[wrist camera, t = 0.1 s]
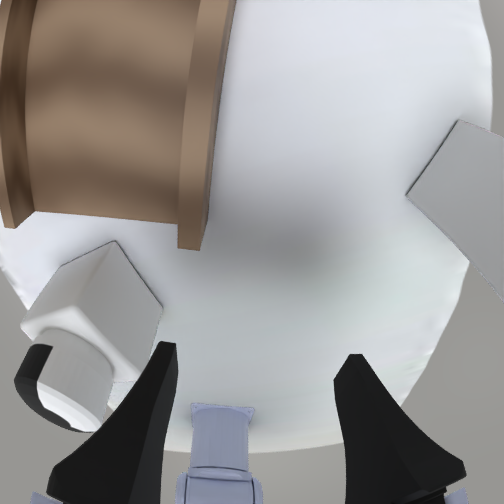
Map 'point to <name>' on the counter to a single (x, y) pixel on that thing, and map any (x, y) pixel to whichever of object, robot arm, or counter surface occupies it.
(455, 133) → the milk carton
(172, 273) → the counter surface
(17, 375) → the medicine bottle
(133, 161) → the wooden tray
